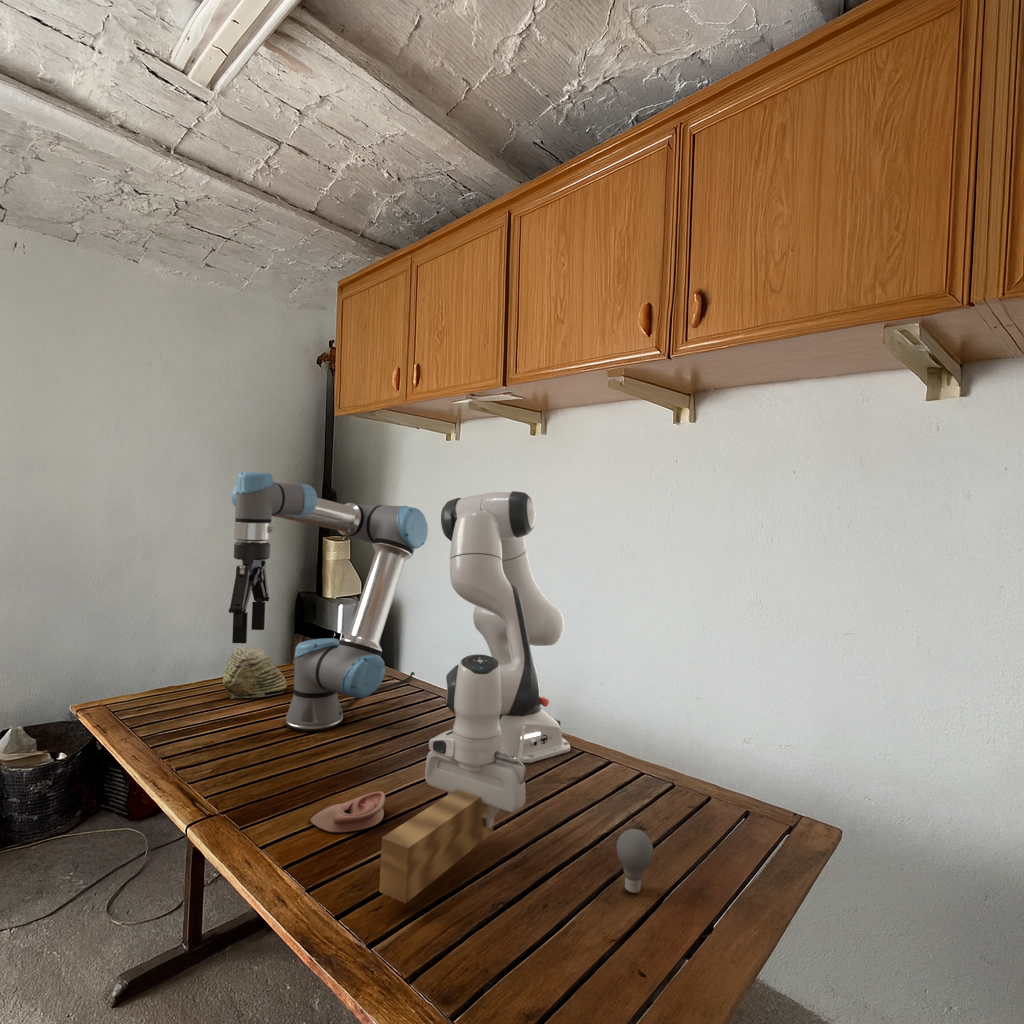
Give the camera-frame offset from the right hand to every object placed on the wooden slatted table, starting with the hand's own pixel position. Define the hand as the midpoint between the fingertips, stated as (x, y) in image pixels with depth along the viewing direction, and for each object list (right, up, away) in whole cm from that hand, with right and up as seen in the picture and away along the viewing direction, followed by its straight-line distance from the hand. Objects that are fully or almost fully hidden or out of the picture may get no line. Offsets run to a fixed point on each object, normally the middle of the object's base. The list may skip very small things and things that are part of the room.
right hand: (472, 820), depth 117 cm
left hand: (-52, +29, +25) cm, 64 cm away
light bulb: (+27, -7, -11) cm, 30 cm away
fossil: (-73, 0, +81) cm, 110 cm away
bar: (-5, -3, -8) cm, 10 cm away
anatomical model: (-25, -4, +8) cm, 27 cm away
